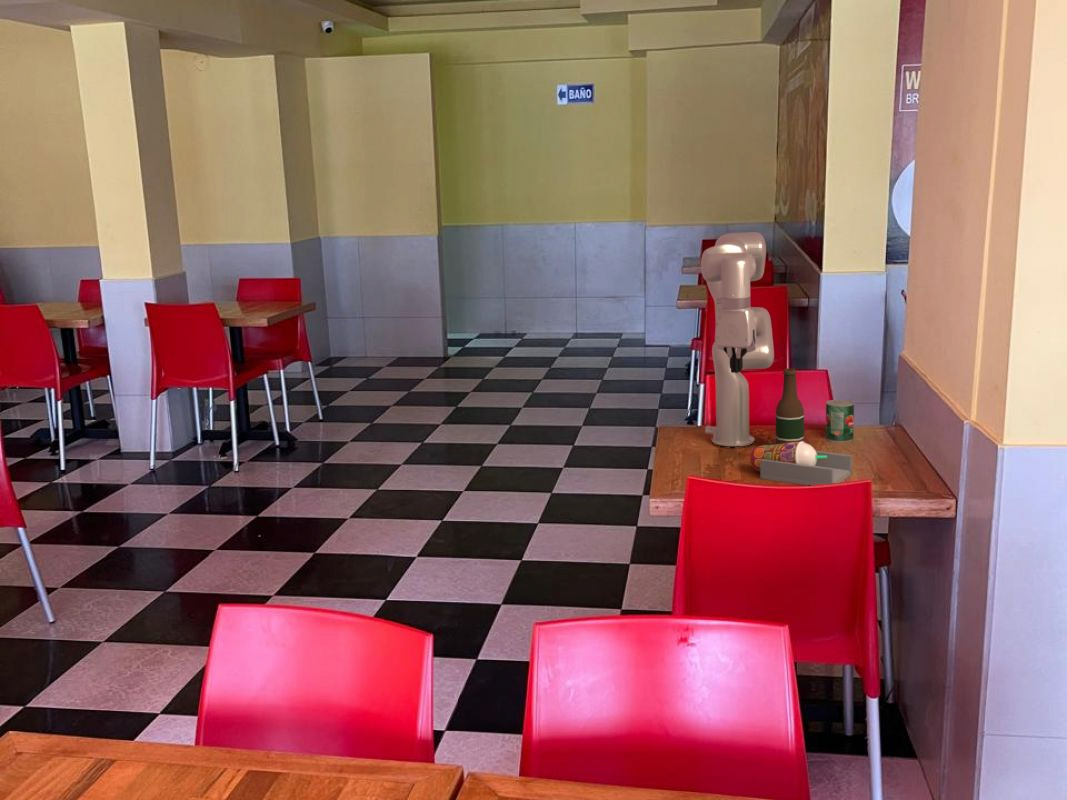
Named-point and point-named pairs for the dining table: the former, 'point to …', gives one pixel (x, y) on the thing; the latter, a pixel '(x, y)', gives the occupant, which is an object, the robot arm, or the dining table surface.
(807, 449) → the smoothie
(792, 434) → the beer bottle
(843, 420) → the canned tomato
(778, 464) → the cradle
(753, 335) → the robot arm
